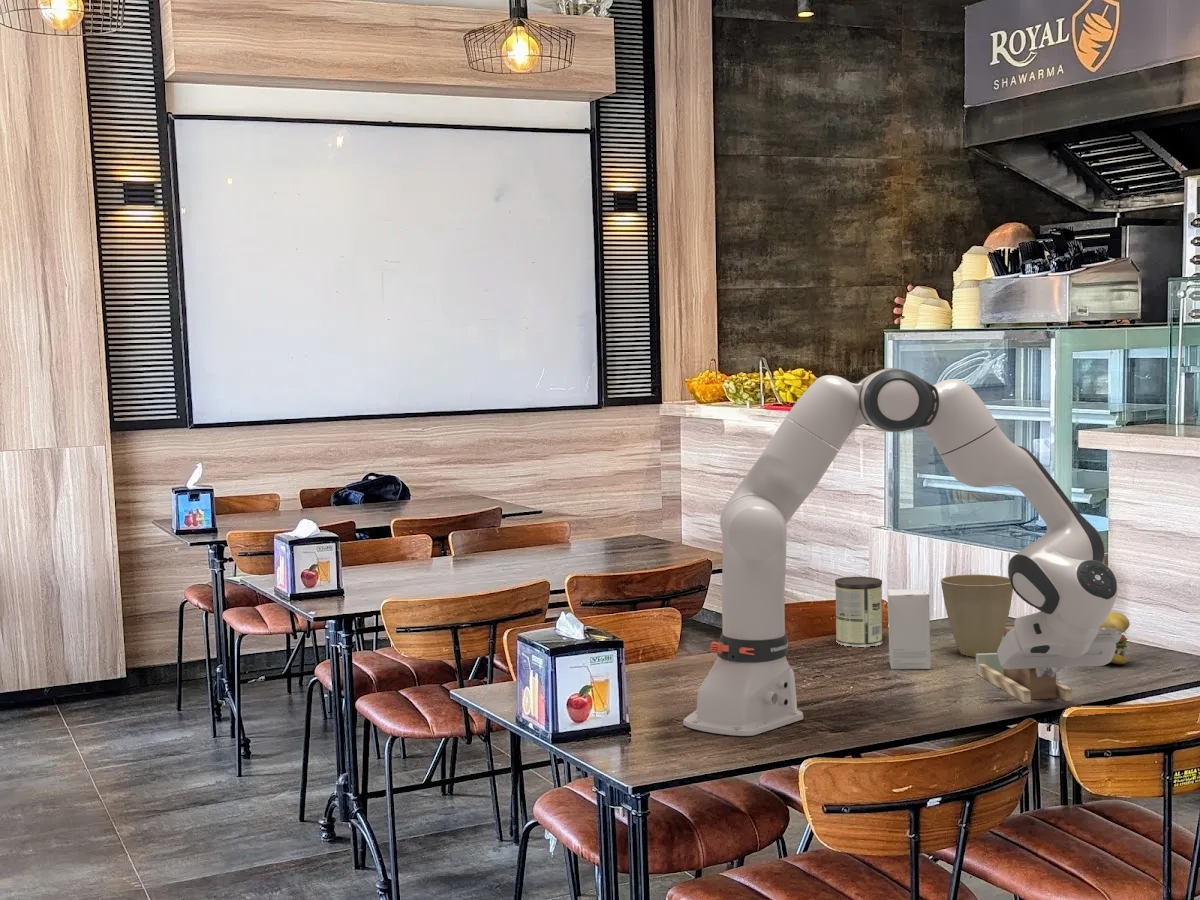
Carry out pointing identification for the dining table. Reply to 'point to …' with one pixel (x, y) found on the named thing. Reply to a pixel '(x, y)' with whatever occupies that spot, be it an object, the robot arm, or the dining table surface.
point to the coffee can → (859, 611)
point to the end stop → (989, 661)
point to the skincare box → (909, 629)
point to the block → (1032, 680)
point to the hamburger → (1121, 625)
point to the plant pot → (977, 610)
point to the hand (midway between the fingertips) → (1044, 673)
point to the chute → (1018, 685)
